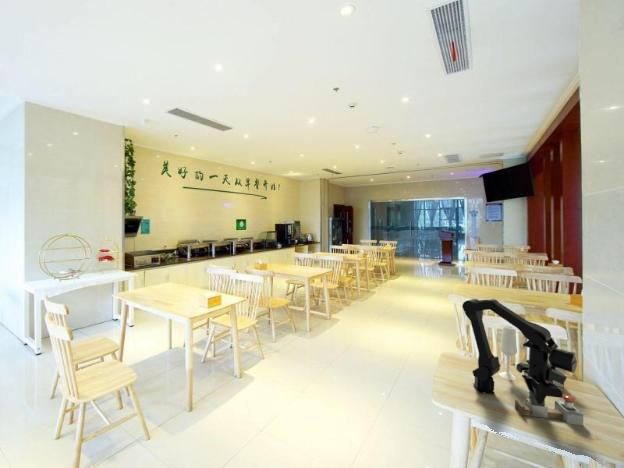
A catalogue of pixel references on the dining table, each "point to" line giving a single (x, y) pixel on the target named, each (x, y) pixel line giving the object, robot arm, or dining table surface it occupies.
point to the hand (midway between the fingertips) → (536, 400)
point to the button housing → (570, 414)
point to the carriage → (536, 406)
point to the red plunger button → (568, 401)
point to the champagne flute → (508, 348)
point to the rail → (527, 411)
